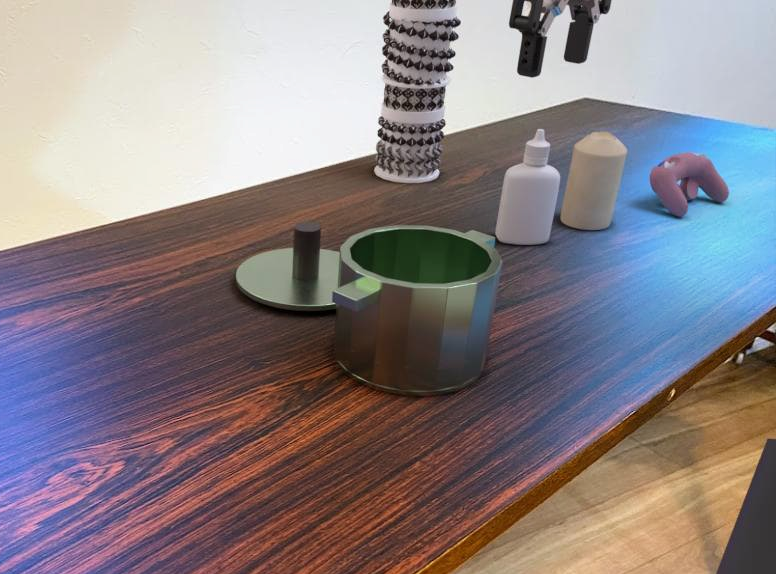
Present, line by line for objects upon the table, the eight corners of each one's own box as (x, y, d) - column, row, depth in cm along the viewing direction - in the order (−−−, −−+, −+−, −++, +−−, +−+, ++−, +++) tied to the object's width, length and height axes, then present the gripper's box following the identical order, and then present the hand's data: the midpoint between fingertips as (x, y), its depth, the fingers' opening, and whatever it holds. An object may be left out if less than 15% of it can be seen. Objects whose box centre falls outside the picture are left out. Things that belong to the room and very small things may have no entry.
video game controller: (697, 206, 113) (688, 150, 111) (733, 199, 109) (724, 141, 107) (649, 222, 108) (638, 164, 107) (684, 216, 104) (674, 155, 103)
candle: (613, 232, 101) (634, 143, 96) (562, 229, 102) (580, 140, 97) (606, 214, 106) (625, 128, 100) (557, 212, 107) (573, 126, 101)
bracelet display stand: (407, 189, 114) (429, -31, 100) (356, 170, 120) (371, -39, 106) (457, 175, 118) (484, -37, 105) (405, 157, 124) (425, -45, 111)
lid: (403, 287, 89) (409, 227, 86) (307, 331, 82) (310, 267, 78) (302, 247, 98) (305, 191, 94) (207, 284, 90) (206, 224, 87)
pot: (530, 349, 79) (550, 246, 74) (399, 427, 68) (412, 314, 63) (414, 302, 87) (425, 206, 81) (281, 366, 76) (284, 261, 71)
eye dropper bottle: (502, 228, 102) (519, 121, 96) (552, 238, 100) (573, 128, 93) (490, 241, 99) (507, 131, 93) (541, 251, 97) (563, 139, 90)
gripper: (588, -124, 87) (556, 52, 96) (504, -119, 79) (477, 73, 88) (663, -121, 83) (622, 64, 92) (583, -115, 75) (546, 87, 84)
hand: (551, 68), depth 90 cm, fingers open, 8 cm apart
